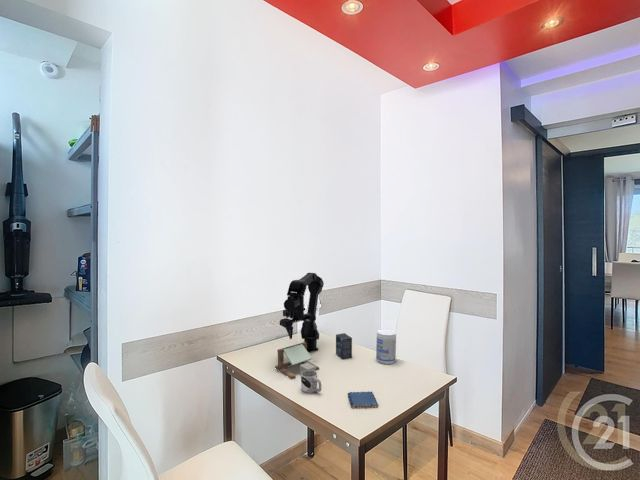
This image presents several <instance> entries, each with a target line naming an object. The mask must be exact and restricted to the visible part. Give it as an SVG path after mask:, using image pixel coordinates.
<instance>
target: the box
mask: <svg viewBox="0 0 640 480" xmlns="http://www.w3.org/2000/svg"><path fill="white" fill-rule="evenodd" d="M335 354H336V355H337V356H338V357H339V358H341V359H342V360H345V359H352V357H353V338H352V337H351V336H349V335H348V334H347V333H345V332H344V333H339V334H335Z"/></svg>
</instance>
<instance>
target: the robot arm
mask: <svg viewBox="0 0 640 480" xmlns="http://www.w3.org/2000/svg"><path fill="white" fill-rule="evenodd" d="M324 282H325V281H324V280H323V279H322V277H320V276H319V275H318V274H317V273H316V272H307V273H306V274H305V275H304V276H302V277H301V278H299V279H293V280H292V281H291V282H290V283H289V285H288V289H287V293H286V296H287V298H286V299H285V300H284V303H283V307H284V309H283V310H282V316H283V317H284V318H282V319H280V320H279V326H281V327H283V328H285V330H286V332H287V335H288V337H289V339H290V340H292V339H293V333H294V326H293V325H294V323H295V324H296V323H299V322H302V325H301V328H300V336H301V340H303V342H306V343H307V352H308V353H311V352H314V351H318V350H319V348H318V347H317V345H318V344H317V342H318V341H319V339H320V333H319V331H318V326H317V323H316V321H317V316H316V315H317V309H318V303H319V301H318V300H319V295H320V294H321V293H322V290H323V287H324V285H325V284H324ZM306 290H308V292H309V298H308V299H309V300H308V306H307V311H306V307H304V306H305V304H304V303H305V301H304V300H305V295H306V294H305V293H306ZM305 311H306V313H305Z"/></svg>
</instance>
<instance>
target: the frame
mask: <svg viewBox="0 0 640 480" xmlns="http://www.w3.org/2000/svg"><path fill="white" fill-rule="evenodd" d="M301 344H303V346H304V347H305V349H306V350H307V343H306V342H304V341H303V342H300V343H297V344H294V345H290V346H286V347H282V348H278V349H277V365H275V366H274V369H275V368H276V369H277V370H276V369H275V370H276V371H278V370H279V371H280V373H281V374H283V375H284V376H286V377H287V376H288V378H289V379H291V380H294V379H296V374H294V373H293V372H291V371H289V370H287V369H286V368H288V366H289V367H292V366H293V365H292V364H291V363H290V361H287V362H284V361H285V353H284V350H283V349H286V348H290V347H293V346H297V345H301ZM305 363H310V364H312V365H314V366H315V367H316V371H319V370H320V367H319V366H318V365H316V364H314V363H313V362H311V361H310V360H308V361H305V362H302V363H301V364H305ZM291 365H292V366H291ZM279 371H278V372H279Z"/></svg>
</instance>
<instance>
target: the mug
mask: <svg viewBox="0 0 640 480" xmlns="http://www.w3.org/2000/svg"><path fill="white" fill-rule="evenodd" d="M300 391H301V392H302V393H305V394H313V393H315V392H319V393H320V392H321V391H322V380H320V379H319V378H318V372H317V370H316V371H313V370H306V371H303V372H302V373H301V375H300Z"/></svg>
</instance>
